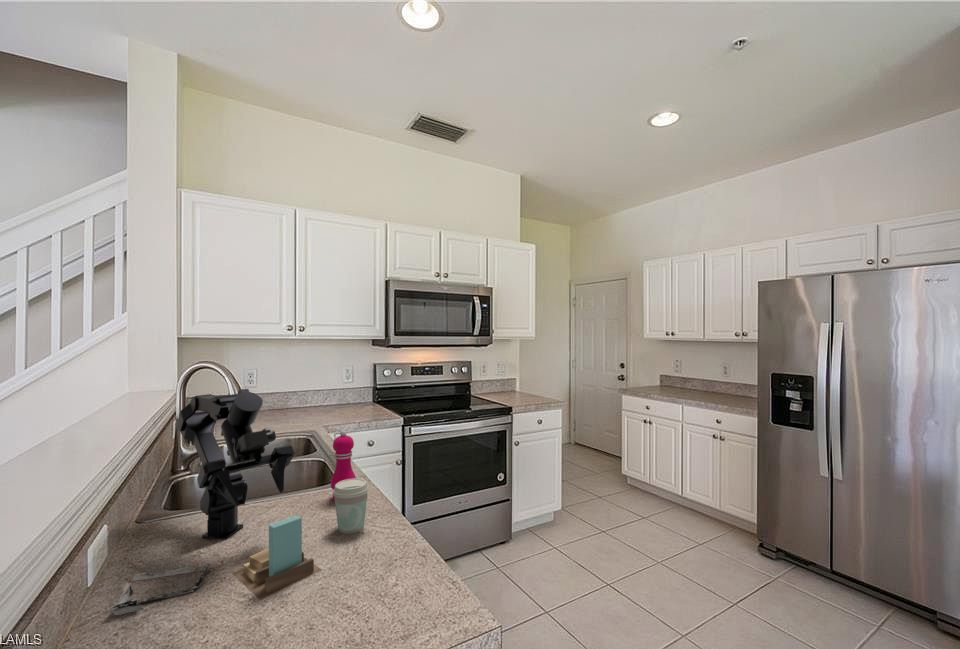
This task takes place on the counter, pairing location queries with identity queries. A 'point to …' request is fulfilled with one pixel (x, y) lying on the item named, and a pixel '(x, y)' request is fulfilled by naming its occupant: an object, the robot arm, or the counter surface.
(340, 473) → the pepper mill
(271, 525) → the turquoise upright pillar
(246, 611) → the counter surface
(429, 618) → the counter surface
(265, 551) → the offcut stack
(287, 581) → the walnut rack
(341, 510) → the coffee cup
